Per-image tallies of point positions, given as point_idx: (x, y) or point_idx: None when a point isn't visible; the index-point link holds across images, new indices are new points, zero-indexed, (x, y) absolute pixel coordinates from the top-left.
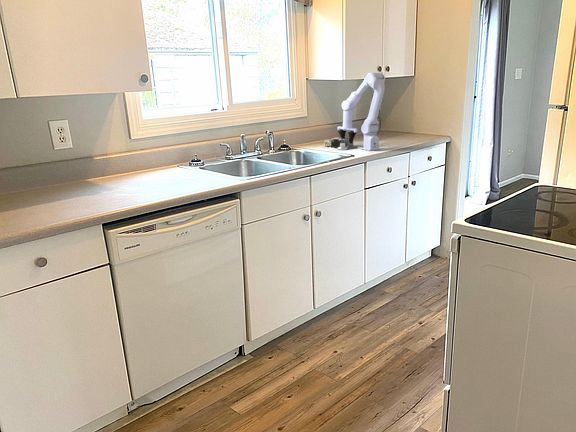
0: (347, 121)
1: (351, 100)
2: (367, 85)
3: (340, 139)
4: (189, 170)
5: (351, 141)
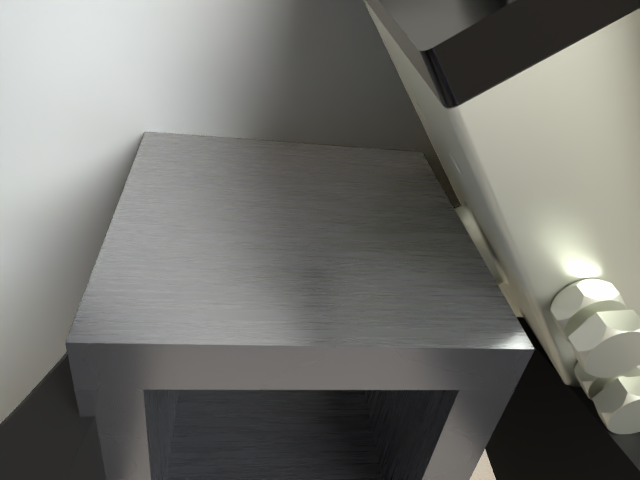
0: None
1: None
2: None
3: (595, 281)
4: None
5: None
